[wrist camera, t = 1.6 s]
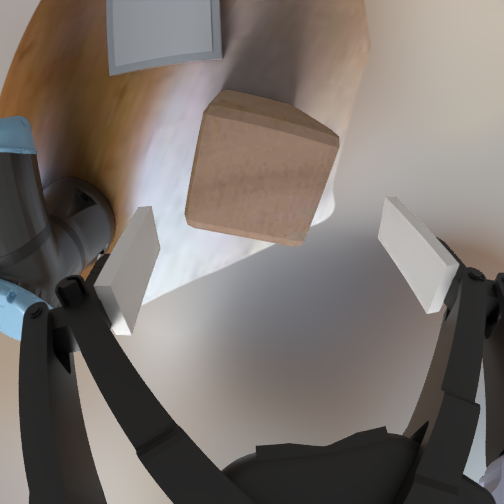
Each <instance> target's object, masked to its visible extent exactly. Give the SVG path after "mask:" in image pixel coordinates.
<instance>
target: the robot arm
mask: <svg viewBox="0 0 504 504" xmlns="http://www.w3.org/2000/svg"><path fill="white" fill-rule="evenodd" d="M36 154H37V150H36V149H35V145H34V141H33V135H32V129H31V125H30V122H29V121H28V120H27V119H26V118H25V117H23V116H12V117H6V118H1V119H0V331H1V332H3V333H4V334H6V335H8V336H10V337H12V338H14V339H17V340H20V341H21V344H20V359H19V414H20V415H19V416H20V431H21V441H22V450H23V457H24V464H25V471H26V477H27V482H28V487H29V492H30V494H29V504H107V502H106V499H105V496H104V492H103V489H102V486H101V483H100V480H99V477H98V474H97V470H96V467H95V464H94V460H93V457H92V453H91V450H90V445H89V441H88V437H87V433H86V429H85V425H84V420H83V415H82V409H81V404H80V398H79V393H78V386H77V379H76V372H75V365H74V355H73V352H76V351H81V353H82V355H83V357H84V359H85V361H86V363H87V366H88V368H89V370H90V372H91V374H92V376H93V378H94V380H95V382H96V383H97V386H98V387H99V389H100V391H101V393H102V395H103V397H104V399H105V400H106V402H107V404H108V406H109V407H110V409H111V411H112V413H113V414H114V416H115V418H116V419H117V421H118V423H119V424H120V426H121V428H122V429H123V431H124V432H125V434H126V435H127V437H128V439H129V440H130V442H131V443H132V445H133V446H134V448H135V449H136V454H137V456H138V458H139V459H140V461H141V462H142V464H143V465H144V466H145V468H146V469H147V470H148V472H149V473H150V475H151V476H152V477H153V479H154V480H155V481H156V483H158V485H159V486H160V488H161V489H162V490H163V491H164V492H165V494H166V495H167V496H168V497H169V499H170V500H171V501H172V502H173V503H174V504H504V273H498V275H497V277H496V279H495V281H493V280H487V279H486V277H485V276H484V274H483V273H482V272H480V271H479V270H477V269H475V268H471V267H468V268H467V267H466V266H465V265H464V264H463V263H462V261H461V260H460V259H459V258H458V257H457V256H456V254H454V252H453V251H452V250H451V249H450V248H449V247H448V245H447V244H446V243H445V242H444V241H442V240H441V239H439V238H438V237H435V236H434V235H433V234H432V233H431V232H430V231H429V229H427V227H426V226H425V225H424V224H423V223H422V222H421V221H420V220H419V219H418V218H417V217H416V216H415V215H414V214H413V213H412V212H411V211H410V210H409V209H408V208H407V207H406V206H405V205H404V204H403V203H402V202H401V201H400V200H399V199H398V198H397V197H386V198H385V203H384V208H383V214H382V220H381V225H380V230H379V234H378V239H379V240H380V242H381V243H382V244H383V246H384V248H385V249H386V250H387V252H388V253H389V255H390V256H391V258H392V259H393V261H394V262H395V264H396V265H397V267H398V268H399V269H400V271H401V273H402V274H403V276H404V277H405V279H406V281H407V282H408V283H409V285H410V287H411V289H412V290H413V292H414V293H415V295H416V297H417V298H418V300H419V301H420V303H421V305H422V306H423V308H424V310H425V312H426V313H427V314H428V313H434V312H439V310H440V308H441V306H442V304H443V302H444V303H445V304H446V306H447V309H446V311H445V313H444V315H443V317H442V319H441V321H440V323H439V325H441V324H442V325H441V329H440V333H439V338H438V341H437V345H436V348H435V352H434V356H433V359H432V362H431V365H430V368H429V371H428V374H427V377H426V380H425V383H424V387H423V389H422V392H421V395H420V397H419V400H418V403H417V405H416V408H415V410H414V413H413V415H412V418H411V420H410V422H409V425H408V427H407V429H406V430H405V432H404V433H403V435H398V434H391V433H387V430H386V427H385V426H384V427H380V428H376V429H372V430H367V431H363V432H358V433H355V434H353V435H351V436H349V437H347V438H344V439H342V440H340V441H338V442H335V443H333V444H331V445H328V446H311V445H301V444H291V443H287V444H276V445H263V446H256V453H252V454H249V455H246V456H244V457H242V458H239V459H237V460H236V461H234V462H232V463H231V464H229V465H228V466H227V467H225V468H224V469H223V470H222V471H220V470H219V469H218V468H217V467H216V466H215V465H214V463H213V462H212V461H211V460H210V459H209V458H208V457H207V456H206V455H205V454H204V453H203V452H202V451H201V450H200V448H199V447H198V446H197V445H196V444H195V443H194V442H193V441H192V440H191V439H190V437H189V436H188V435H187V434H186V433H185V432H184V430H183V429H182V428H181V427H180V426H178V425H177V424H176V423H175V421H174V420H173V419H172V418H171V416H170V415H169V414H168V413H167V411H166V410H165V409H164V408H163V406H162V405H161V404H160V402H159V401H158V400H157V399H156V397H155V396H154V395H153V393H152V392H151V390H150V389H149V388H148V387H147V385H146V384H145V382H144V381H143V379H142V378H141V377H140V375H139V374H138V372H137V371H136V369H135V368H134V366H133V365H132V363H131V362H130V360H129V359H128V357H127V356H126V354H125V353H124V351H123V350H122V348H121V347H120V345H119V343H118V342H117V340H116V339H115V337H114V335H113V334H112V332H111V330H110V329H111V326H112V327H113V330H114V332H115V334H116V335H132V332H133V329H134V325H135V323H136V319H137V316H138V313H139V310H140V307H141V303H142V300H143V297H144V294H145V291H146V288H147V285H148V282H149V279H150V276H151V274H152V271H153V268H154V265H155V262H156V259H157V257H158V254H159V251H160V244H159V240H158V235H157V231H156V226H155V221H154V216H153V211H152V206H147V207H138V209H137V211H136V212H135V214H134V215H133V217H132V219H131V220H130V222H129V224H128V225H127V227H126V228H125V230H124V232H123V234H122V235H121V237H120V239H119V240H118V242H117V244H116V245H115V247H114V249H113V251H112V252H111V254H105V253H106V252H107V250H108V249H109V247H110V245H111V243H112V241H113V239H114V235H115V219H114V215H113V212H112V209H111V207H110V205H109V203H108V201H107V200H106V198H105V197H104V196H103V194H102V193H101V192H100V191H99V190H98V189H97V188H95V187H94V186H93V185H91V184H90V183H88V182H86V181H84V180H81V179H78V178H72V177H67V178H61V179H58V180H56V181H54V182H53V183H51V184H50V185H49V186H48V187H47V188H45V189H44V190H43V189H42V184H41V179H40V173H39V168H38V161H37V155H36ZM95 262H96V263H95ZM93 263H95V265H94V267H93V269H92V270H91V272H90V274H89V275H88V277H87V279H86V281H84V279H83V278H82V277H81V276H80V274H81V273H82V271H83V270H85V269H86V268H88V267H89V266H91V265H92V264H93ZM482 358H483V368H484V380H485V396H486V467H487V469H486V472H485V475H484V476H482V477H481V479H480V480H479V484H478V483H476V482H474V481H473V480H471V479H470V478H468V477H467V476H465V475H464V474H463V471H464V468H465V465H466V462H467V459H468V456H469V453H470V449H471V446H472V443H473V439H474V435H475V431H476V427H477V423H478V419H479V414H480V405H479V404H477V403H475V398H476V392H477V387H478V382H479V376H480V369H481V362H482Z"/></svg>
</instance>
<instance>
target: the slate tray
mask: <svg viewBox="0 0 504 504" xmlns="http://www.w3.org/2000/svg"><path fill="white" fill-rule="evenodd" d="M106 22H107V46H108V61H109V73H110V76H116V75H122V74H126V73H131V72H135V71H140V70H146V69H151V68H157V67H163V66H169V65H176V64H184V63H192V62H201V61H212V60H223V57H222V34H221V7H220V0H106Z"/></svg>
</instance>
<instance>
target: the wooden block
mask: <svg viewBox="0 0 504 504" xmlns="http://www.w3.org/2000/svg"><path fill="white" fill-rule="evenodd" d="M338 149H339V136H338V135H337V134H335V133H334V132H333V131H332V130H331V129H329V128H328V127H326V126H325V125H323V124H321V123H320V122H318V121H317V120H315V119H314V118H312V117H310V116H309V115H307V114H305V113H304V112H302V111H300V110H299V109H297V108H295V107H294V106H292V105H290V104H287V103H284V102H280V101H276V100H273V99H269V98H265V97H261V96H256V95H252V94H248V93H243V92H239V91H234V90H229V89H227V90H222V91H221V92H220V93H219V94H218V95H217V96H216V97H215V98H214V99H213V100H212V102H211V103H210V104H209V105H208V107H207V108H206V109H205V111H204V112H203V117H202V121H201V126H200V131H199V136H198V141H197V146H196V151H195V156H194V161H193V167H192V172H191V178H190V183H189V189H188V195H187V201H186V207H185V217H186V221H187V224H188V225H190V226H192V227H194V228H198V229H203V230H209V231H214V232H219V233H225V234H230V235H236V236H241V237H246V238H252V239H257V240H262V241H267V242H273V243H279V244H283V245H288V246H300V245H301V244H302V243H303V242H304V240H305V238H306V235H307V233H308V230H309V228H310V225H311V223H312V220H313V217H314V215H315V212H316V210H317V207H318V204H319V202H320V199H321V196H322V194H323V191H324V188H325V185H326V183H327V180H328V177H329V174H330V172H331V169H332V166H333V163H334V161H335V158H336V155H337V152H338Z"/></svg>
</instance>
